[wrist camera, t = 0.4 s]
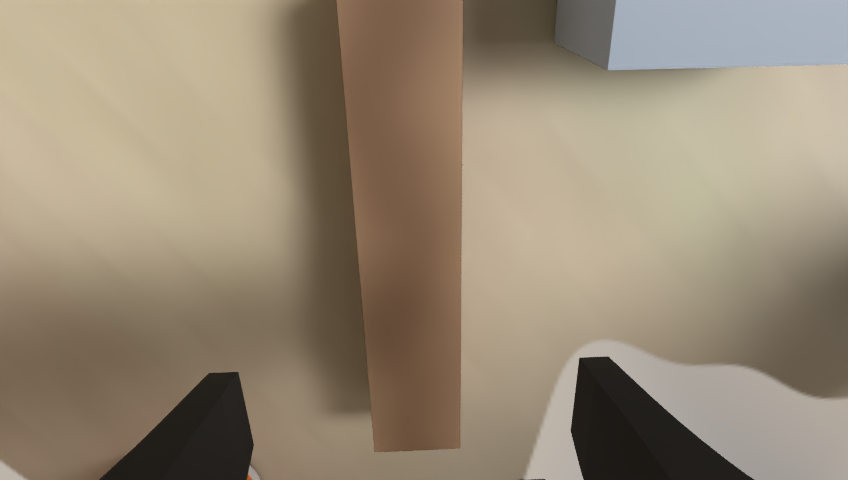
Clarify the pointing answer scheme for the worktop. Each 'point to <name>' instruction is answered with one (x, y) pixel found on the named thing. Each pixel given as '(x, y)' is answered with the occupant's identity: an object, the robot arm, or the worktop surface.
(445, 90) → the slat
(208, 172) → the worktop surface
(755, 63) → the blue-grey block
